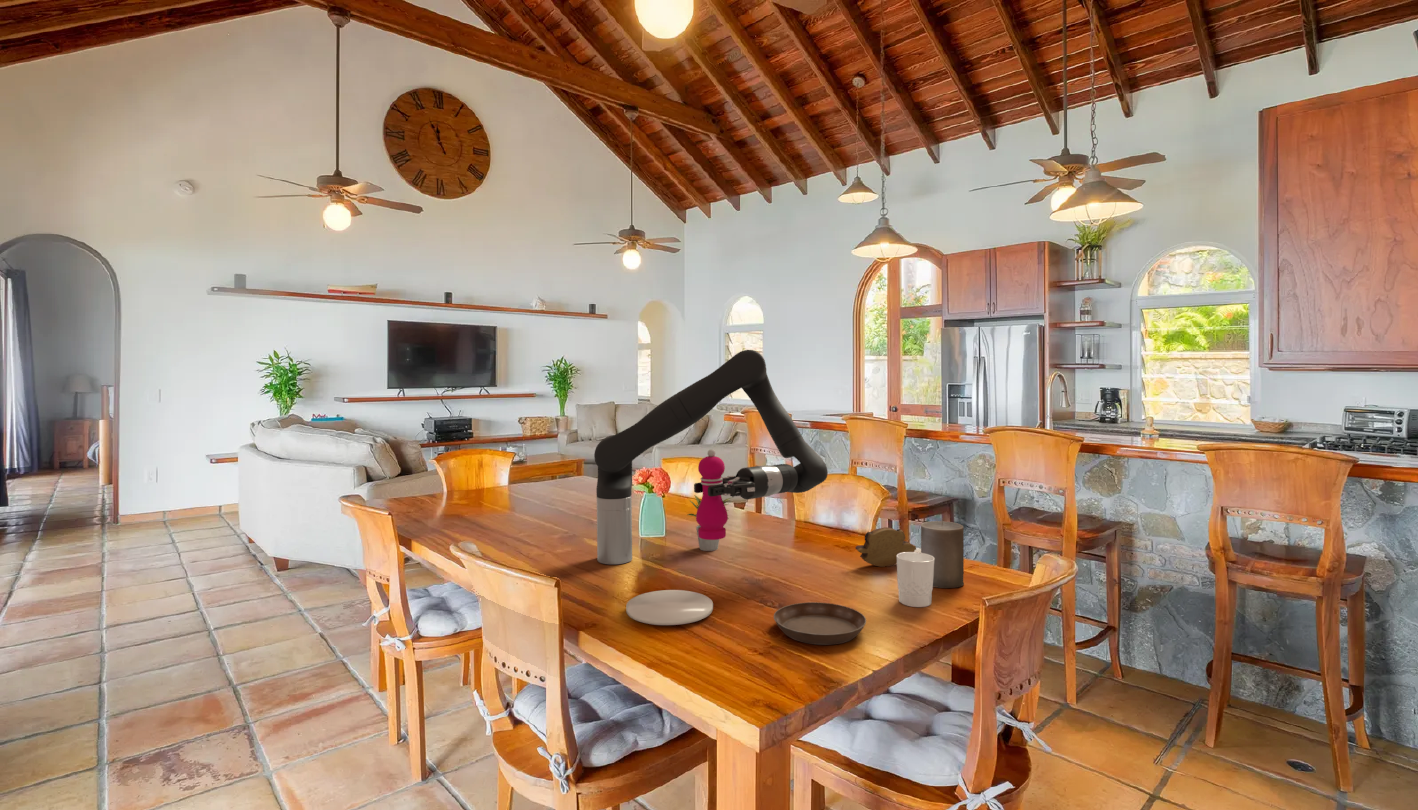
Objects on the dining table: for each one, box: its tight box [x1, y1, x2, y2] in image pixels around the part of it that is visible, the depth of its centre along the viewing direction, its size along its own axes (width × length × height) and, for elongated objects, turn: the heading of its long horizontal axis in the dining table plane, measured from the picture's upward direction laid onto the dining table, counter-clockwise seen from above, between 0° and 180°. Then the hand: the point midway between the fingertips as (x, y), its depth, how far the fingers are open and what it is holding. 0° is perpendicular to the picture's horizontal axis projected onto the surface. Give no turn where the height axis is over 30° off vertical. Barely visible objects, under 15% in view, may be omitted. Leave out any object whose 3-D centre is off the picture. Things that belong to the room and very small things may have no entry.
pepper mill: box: [695, 448, 729, 540], centre depth 152 cm, size 7×7×20 cm
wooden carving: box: [855, 526, 917, 568], centre depth 173 cm, size 16×5×10 cm, turn 108°
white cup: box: [896, 551, 935, 608], centre depth 145 cm, size 8×8×10 cm
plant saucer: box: [773, 601, 867, 646], centre depth 130 cm, size 18×18×3 cm
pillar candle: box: [920, 519, 965, 589], centre depth 158 cm, size 10×10×15 cm
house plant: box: [687, 494, 734, 552], centre depth 188 cm, size 14×14×16 cm
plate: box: [625, 589, 714, 626], centre depth 140 cm, size 18×18×2 cm
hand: (702, 489), depth 150 cm, fingers closed on pepper mill, 4 cm apart
